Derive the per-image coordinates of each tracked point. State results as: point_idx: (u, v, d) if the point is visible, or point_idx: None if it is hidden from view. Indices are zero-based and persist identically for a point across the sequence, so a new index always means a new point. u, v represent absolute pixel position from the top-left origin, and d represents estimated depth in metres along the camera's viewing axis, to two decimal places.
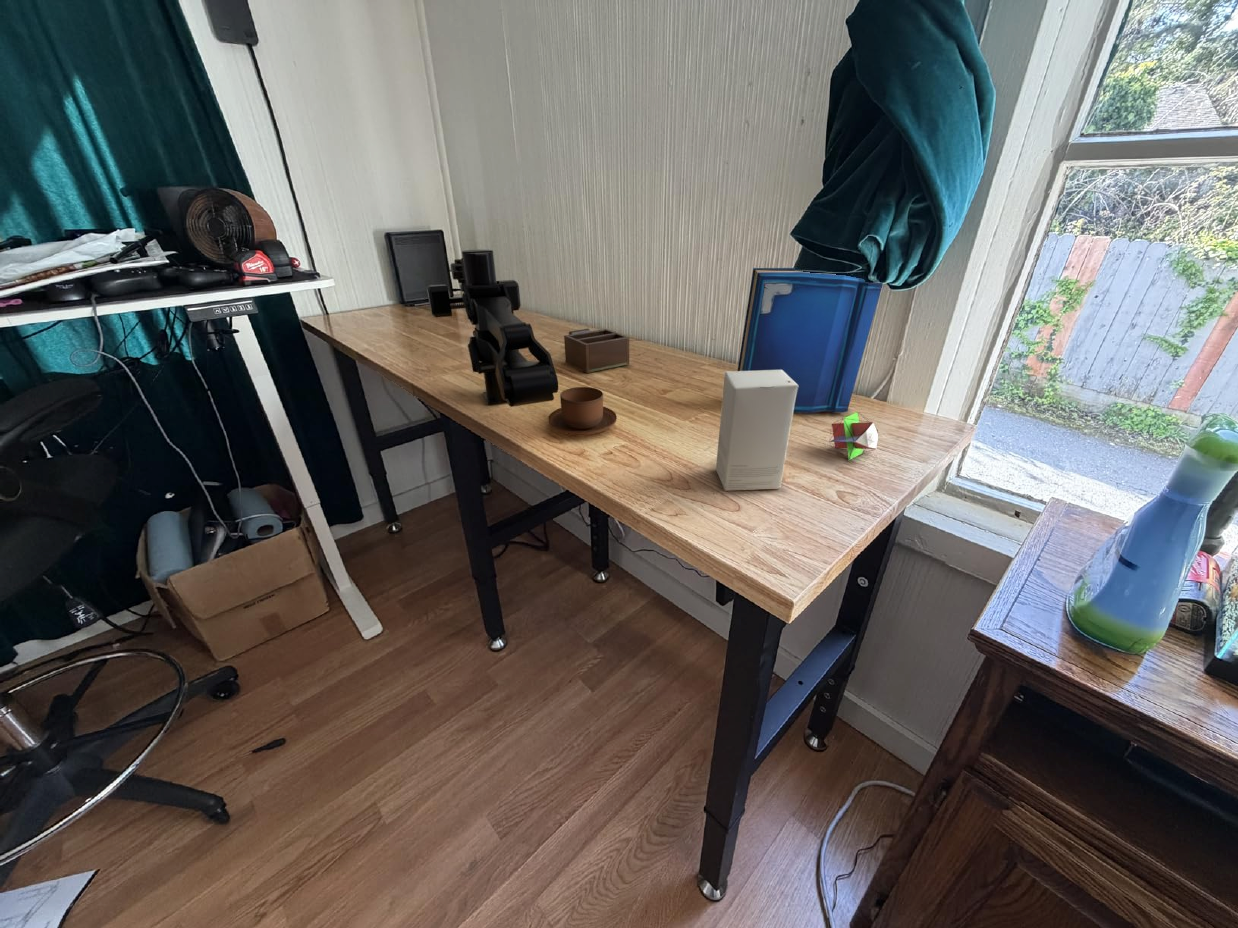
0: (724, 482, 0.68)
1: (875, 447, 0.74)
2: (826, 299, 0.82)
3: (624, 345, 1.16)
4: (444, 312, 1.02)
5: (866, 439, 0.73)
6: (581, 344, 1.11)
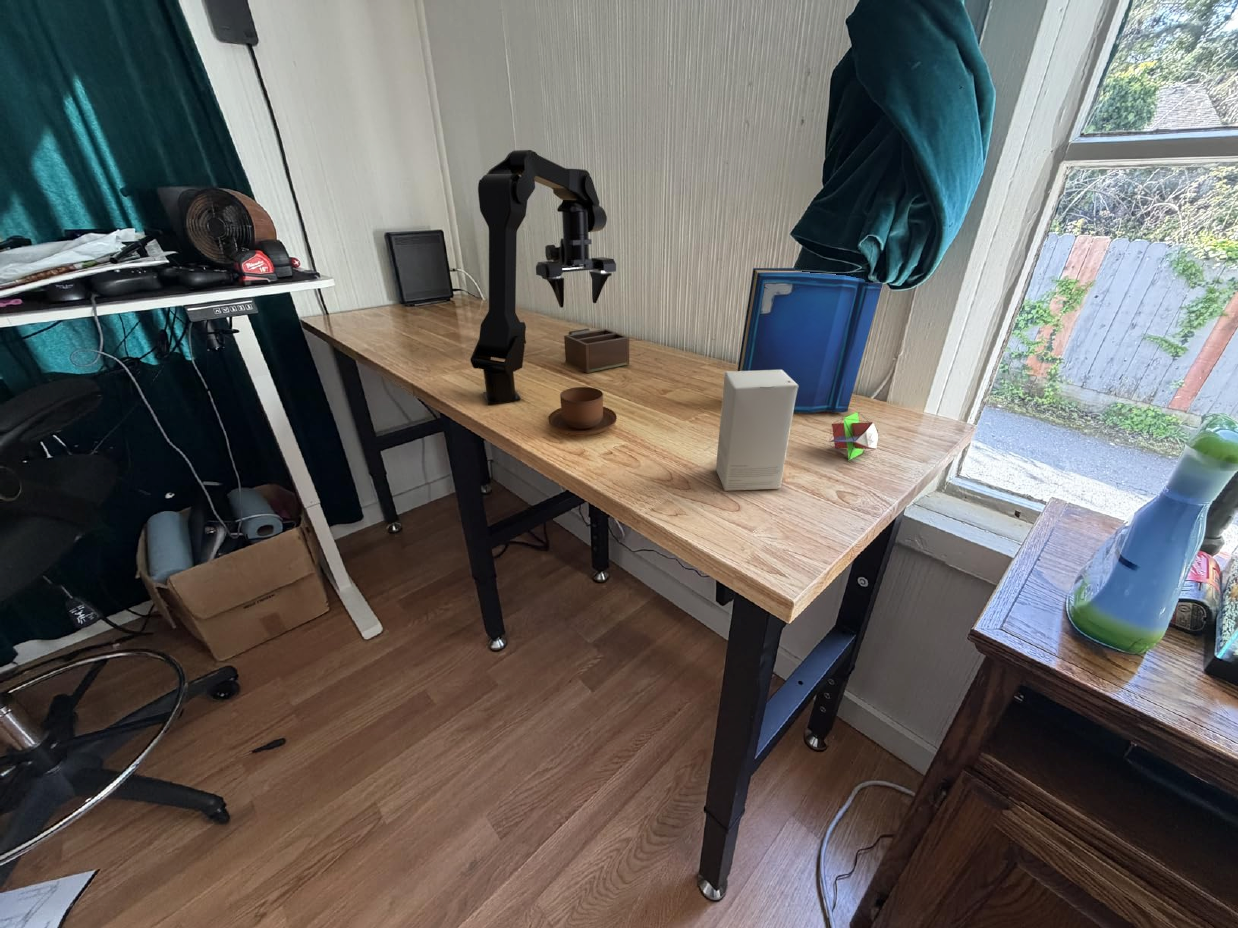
0: (724, 482, 0.68)
1: (875, 447, 0.74)
2: (826, 299, 0.82)
3: (624, 345, 1.16)
4: (554, 263, 1.09)
5: (866, 439, 0.73)
6: (581, 344, 1.11)
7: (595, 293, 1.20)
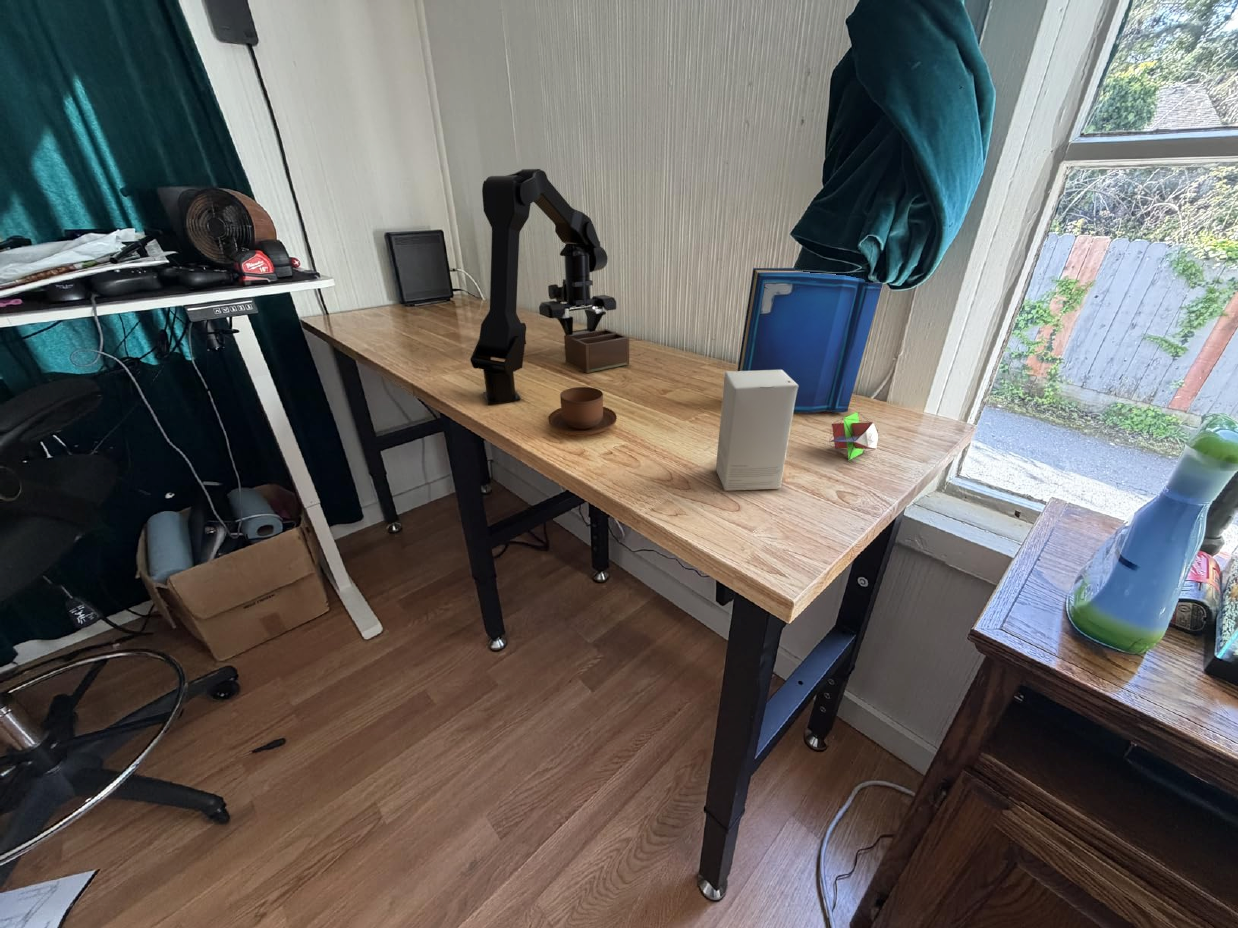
0: (724, 482, 0.68)
1: (875, 447, 0.74)
2: (826, 299, 0.82)
3: (624, 345, 1.16)
4: (557, 304, 1.14)
5: (866, 439, 0.73)
6: (581, 344, 1.11)
7: None
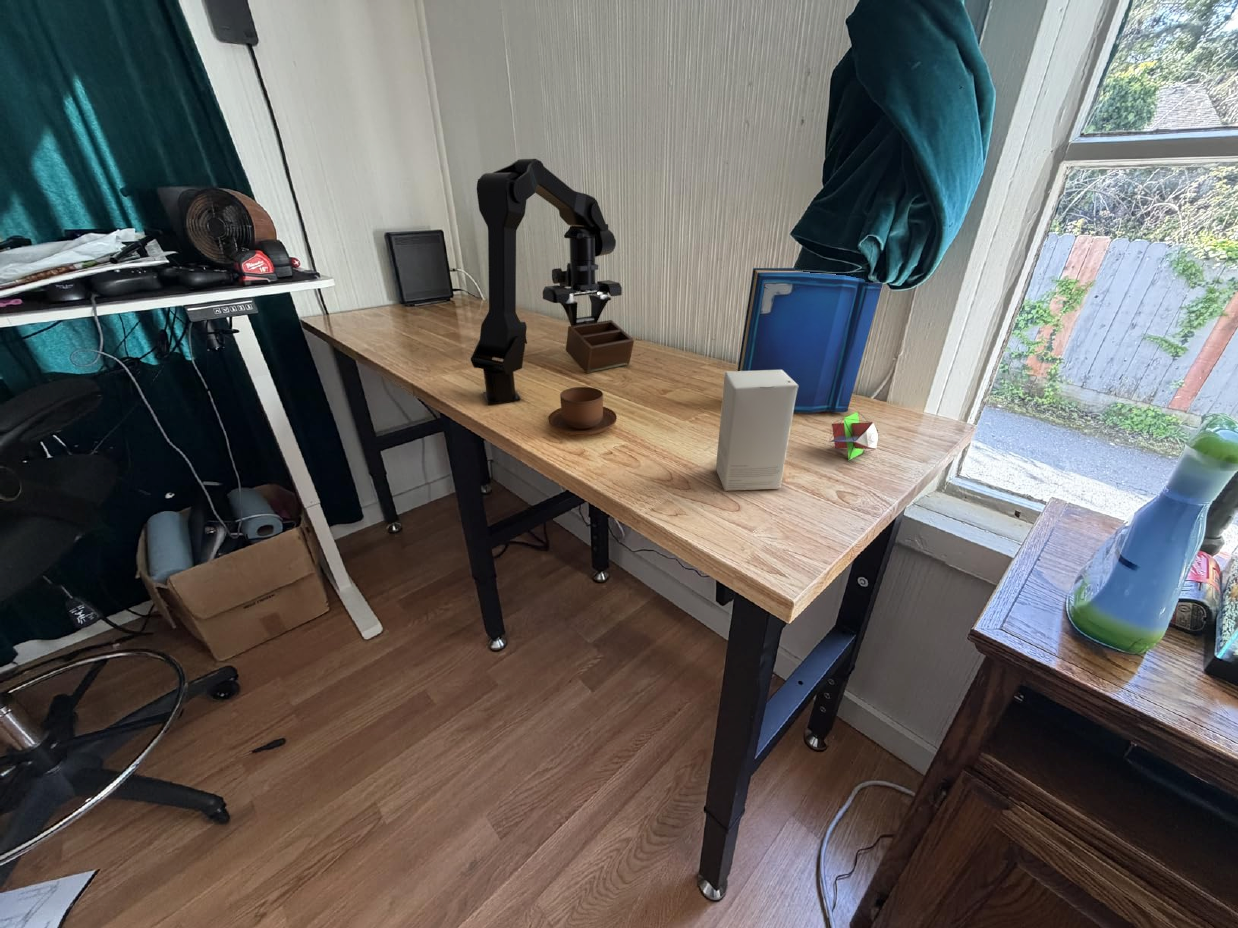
0: (724, 482, 0.68)
1: (875, 447, 0.74)
2: (826, 299, 0.82)
3: (627, 347, 1.15)
4: (561, 289, 1.10)
5: (866, 439, 0.73)
6: (585, 345, 1.10)
7: (594, 317, 1.20)
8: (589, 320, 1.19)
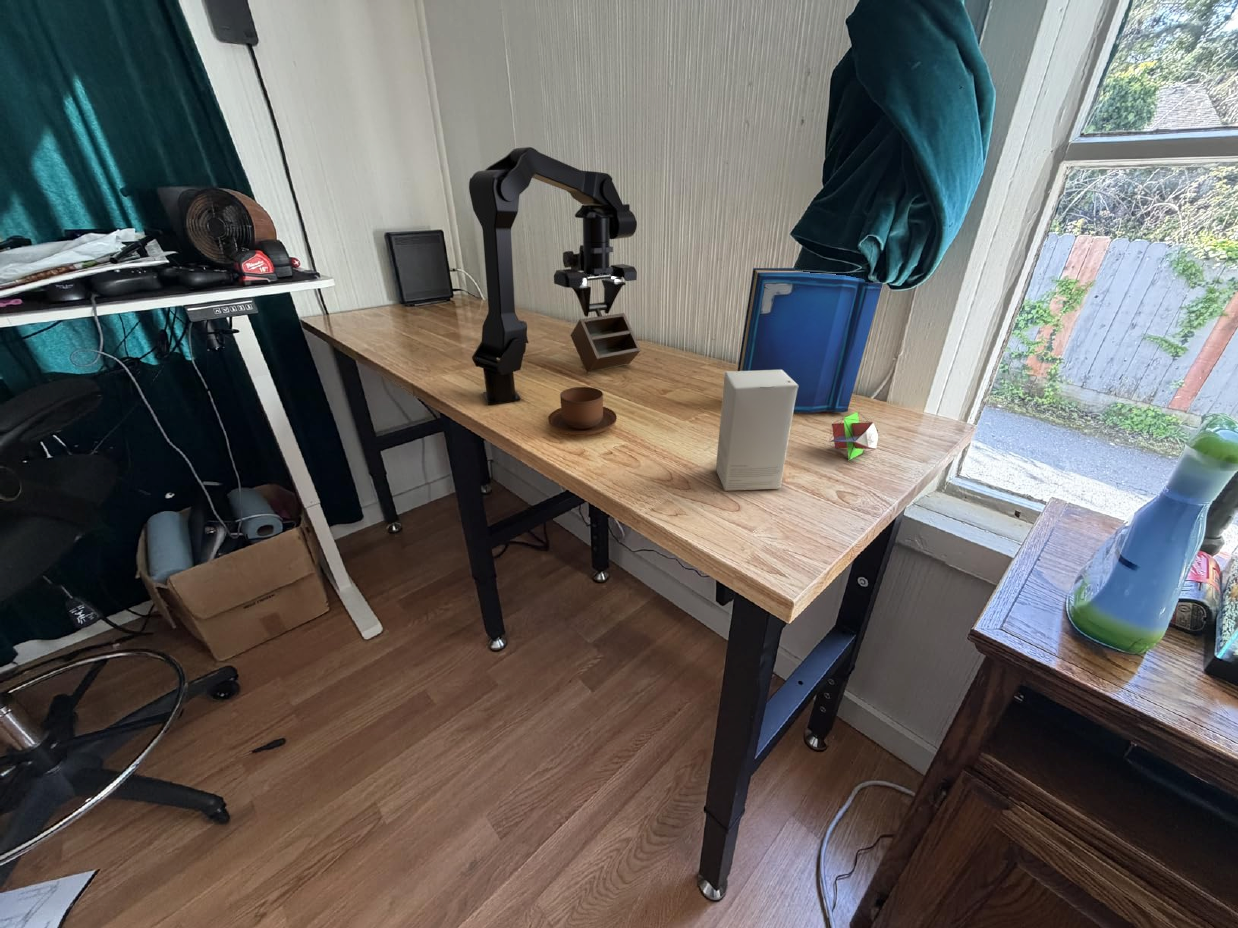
0: (724, 482, 0.68)
1: (875, 447, 0.74)
2: (826, 299, 0.82)
3: (632, 355, 1.14)
4: (574, 272, 1.04)
5: (866, 439, 0.73)
6: (593, 351, 1.08)
7: (607, 303, 1.13)
8: (602, 308, 1.13)
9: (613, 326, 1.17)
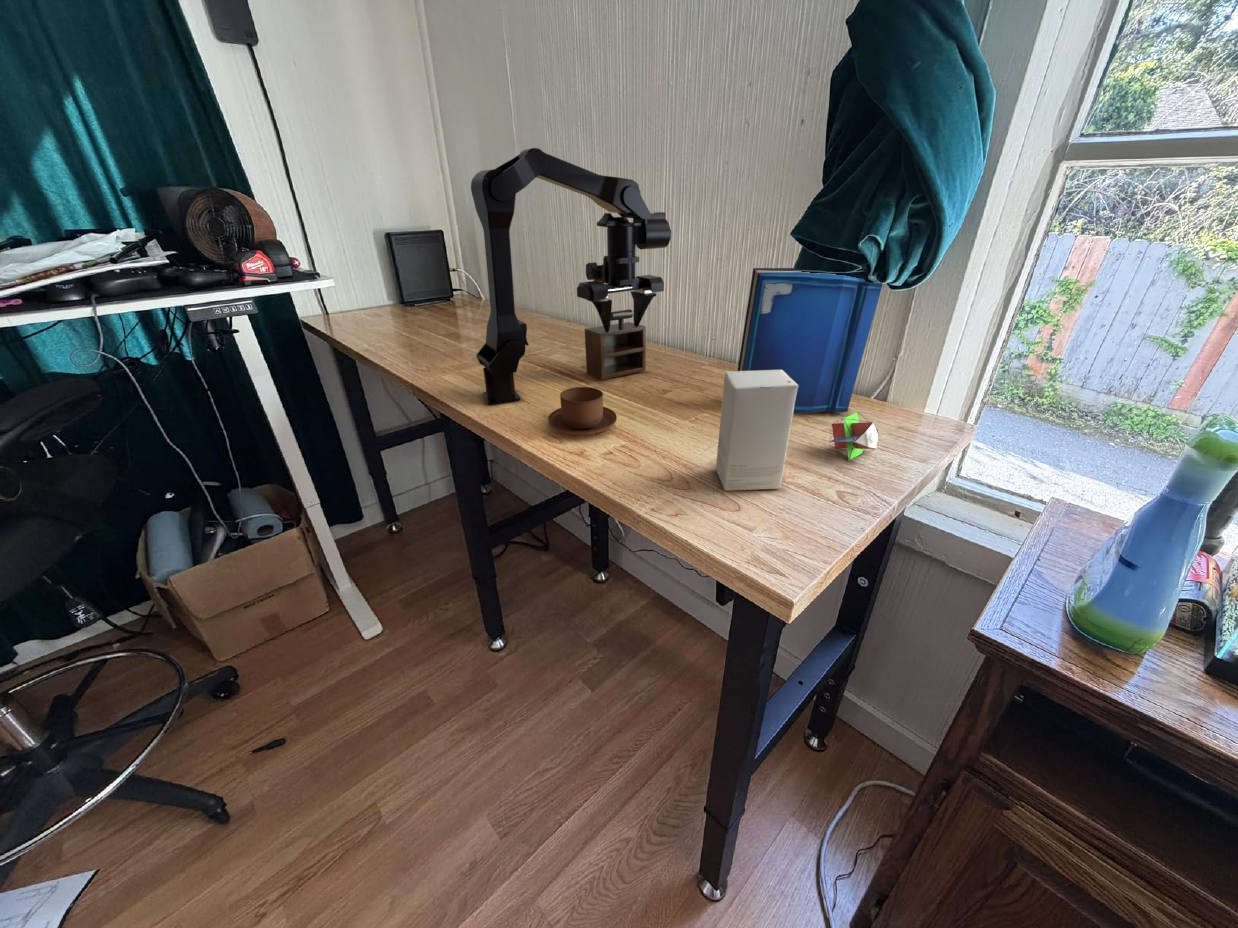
0: (724, 482, 0.68)
1: (875, 447, 0.74)
2: (826, 299, 0.82)
3: None
4: (598, 284, 0.98)
5: (866, 439, 0.73)
6: (600, 371, 1.07)
7: (637, 315, 1.07)
8: (626, 318, 1.06)
9: None
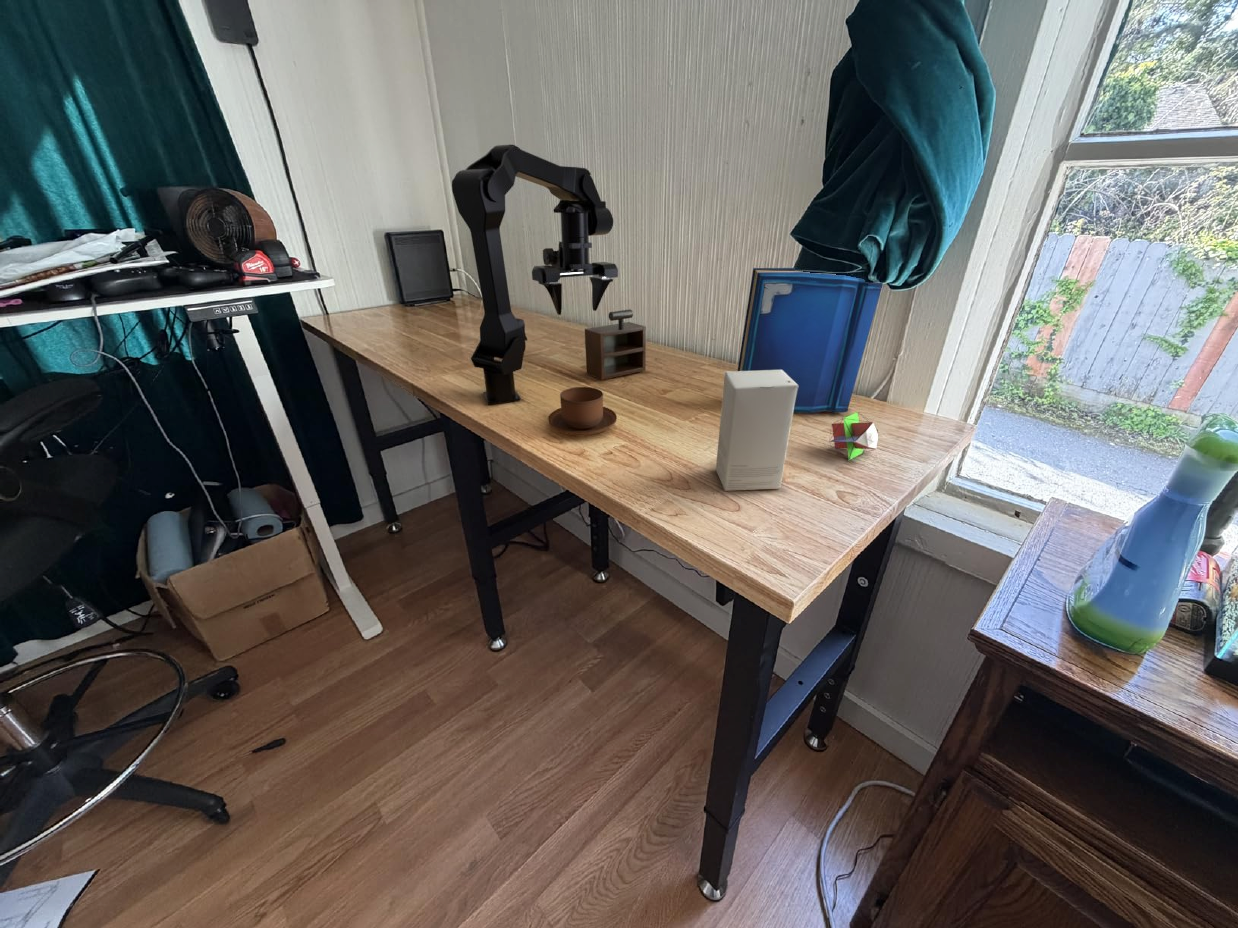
0: (724, 482, 0.68)
1: (875, 447, 0.74)
2: (826, 299, 0.82)
3: None
4: (551, 268, 1.02)
5: (866, 439, 0.73)
6: (600, 371, 1.07)
7: (595, 300, 1.13)
8: (626, 318, 1.06)
9: None
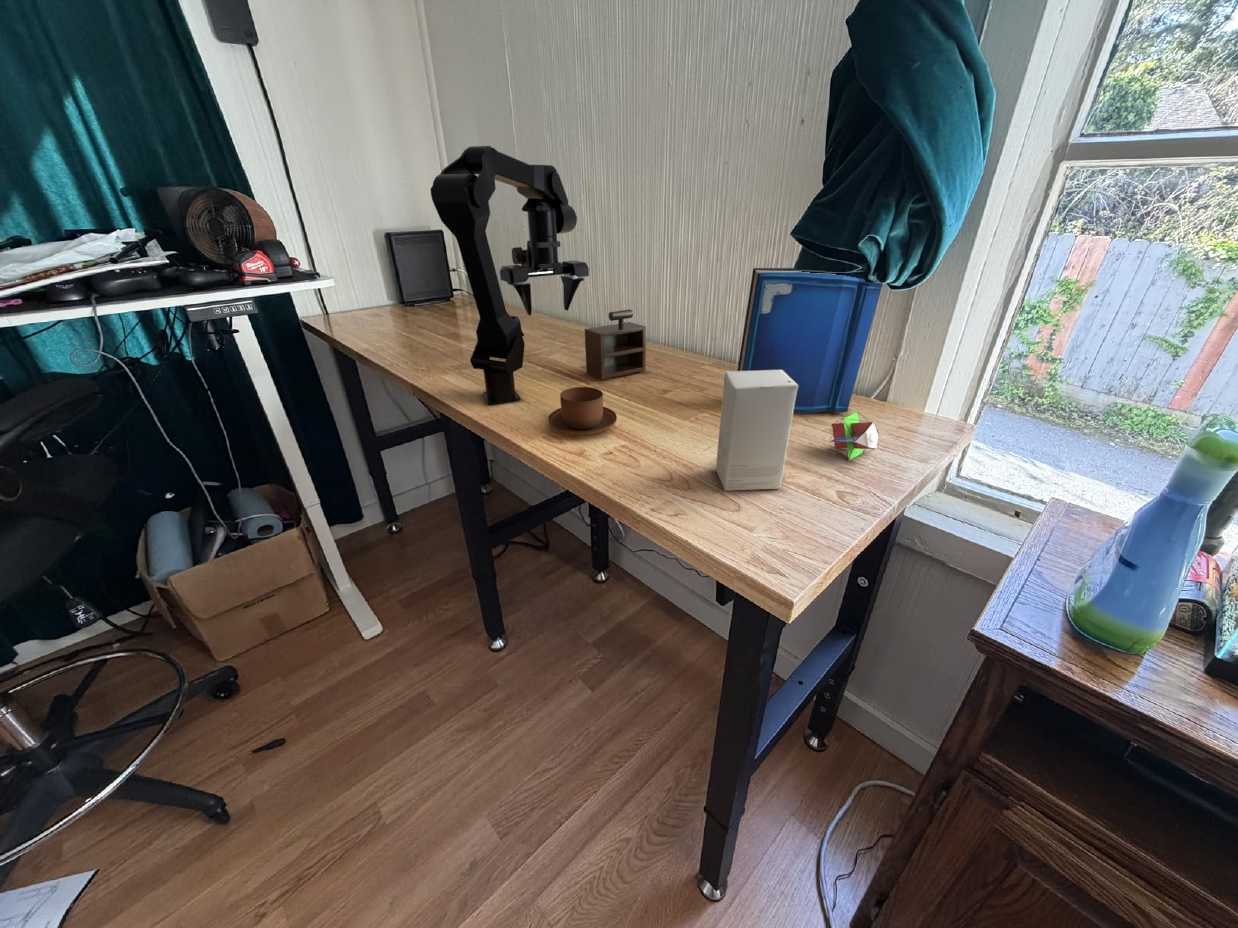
0: (724, 482, 0.68)
1: (875, 447, 0.74)
2: (826, 299, 0.82)
3: None
4: (519, 267, 1.00)
5: (866, 439, 0.73)
6: (600, 371, 1.07)
7: (567, 299, 1.11)
8: (626, 318, 1.06)
9: None
